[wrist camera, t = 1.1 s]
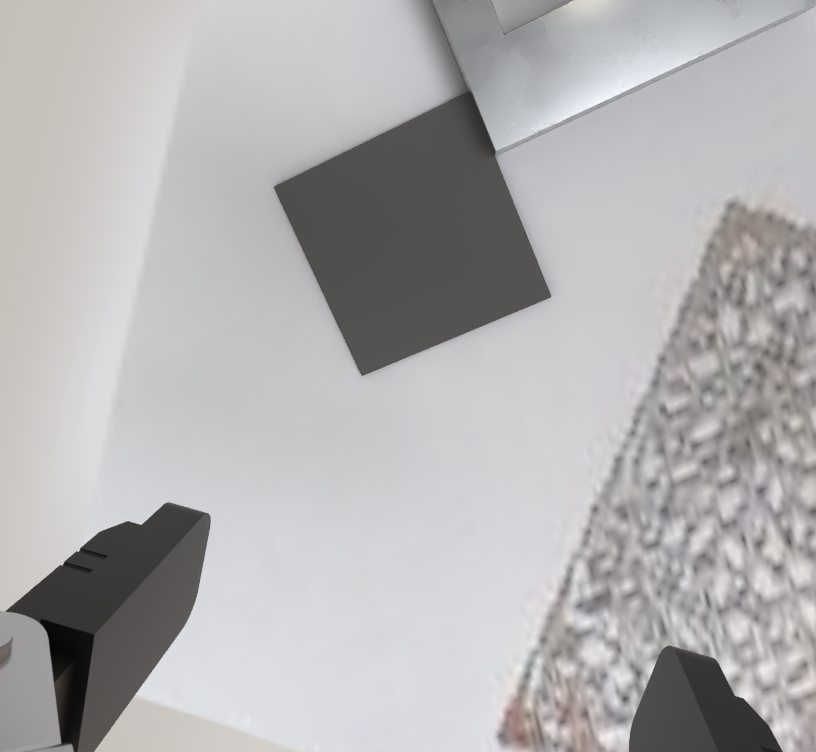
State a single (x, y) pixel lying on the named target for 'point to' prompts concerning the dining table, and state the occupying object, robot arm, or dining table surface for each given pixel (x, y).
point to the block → (588, 54)
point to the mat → (414, 236)
